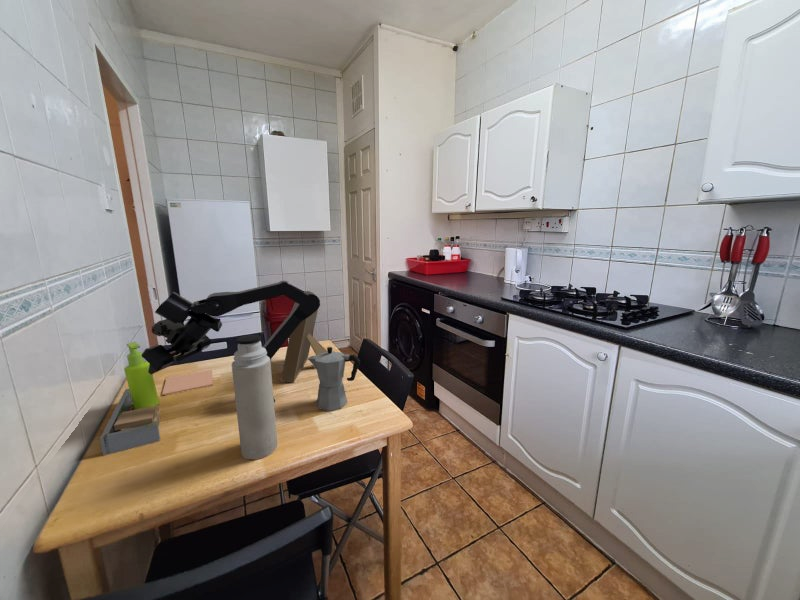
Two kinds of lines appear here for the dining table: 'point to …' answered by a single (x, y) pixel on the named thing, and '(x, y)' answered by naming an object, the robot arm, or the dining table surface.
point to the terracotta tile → (187, 382)
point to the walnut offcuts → (137, 418)
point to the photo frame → (300, 348)
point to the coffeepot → (332, 378)
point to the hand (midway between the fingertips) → (164, 366)
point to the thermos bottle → (254, 398)
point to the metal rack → (126, 431)
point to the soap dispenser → (140, 379)
